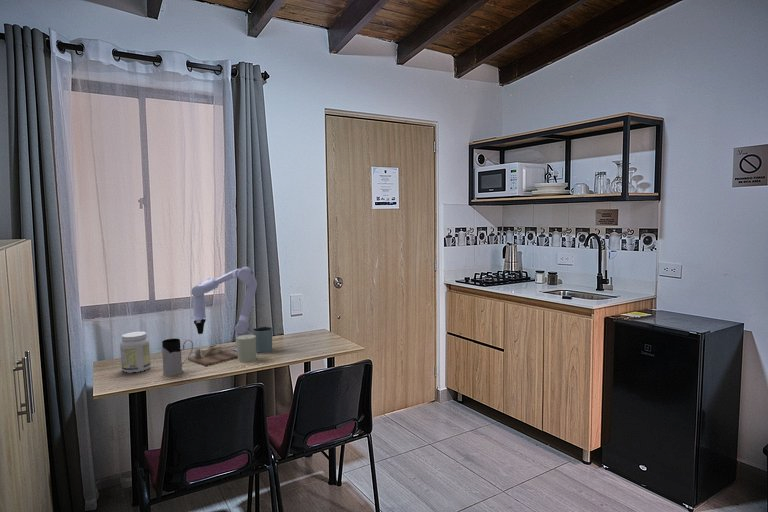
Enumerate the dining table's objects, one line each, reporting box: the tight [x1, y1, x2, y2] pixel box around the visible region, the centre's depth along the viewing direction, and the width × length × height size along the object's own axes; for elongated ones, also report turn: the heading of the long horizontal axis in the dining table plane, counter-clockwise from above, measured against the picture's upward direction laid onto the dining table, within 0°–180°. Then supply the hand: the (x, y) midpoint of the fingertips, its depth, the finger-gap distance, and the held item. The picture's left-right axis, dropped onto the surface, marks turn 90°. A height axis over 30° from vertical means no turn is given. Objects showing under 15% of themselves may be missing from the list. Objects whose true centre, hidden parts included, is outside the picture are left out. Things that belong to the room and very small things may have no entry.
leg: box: [200, 345, 222, 356], centre depth 250 cm, size 10×2×3 cm, turn 140°
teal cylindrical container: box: [252, 326, 274, 354], centre depth 257 cm, size 10×10×12 cm
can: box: [237, 335, 258, 363], centre depth 242 cm, size 9×9×12 cm
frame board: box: [187, 344, 238, 367], centre depth 245 cm, size 18×17×5 cm
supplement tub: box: [119, 331, 152, 374], centre depth 230 cm, size 12×12×17 cm
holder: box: [161, 338, 194, 377], centre depth 226 cm, size 9×14×15 cm, turn 134°
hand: (200, 333), depth 257 cm, fingers closed
